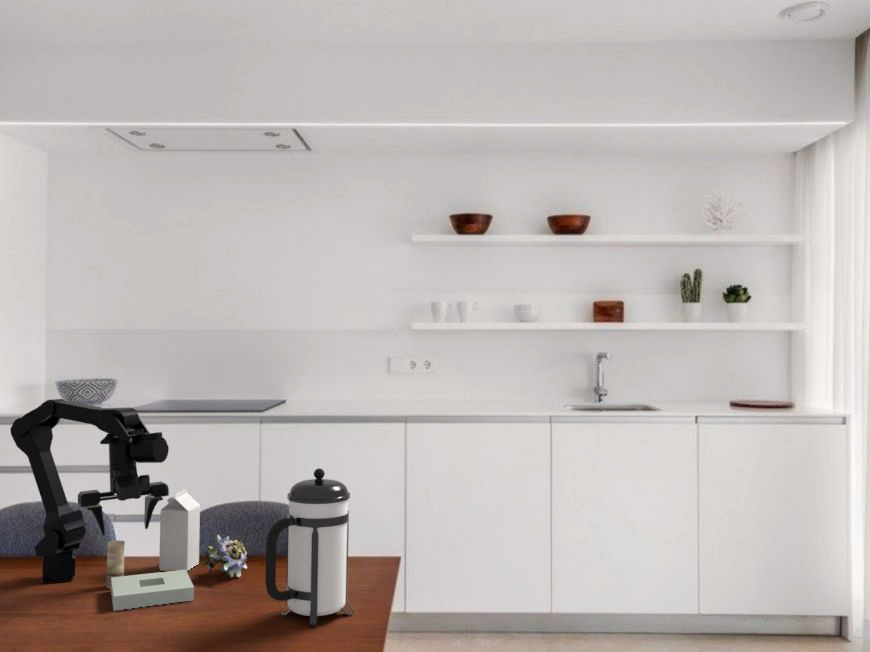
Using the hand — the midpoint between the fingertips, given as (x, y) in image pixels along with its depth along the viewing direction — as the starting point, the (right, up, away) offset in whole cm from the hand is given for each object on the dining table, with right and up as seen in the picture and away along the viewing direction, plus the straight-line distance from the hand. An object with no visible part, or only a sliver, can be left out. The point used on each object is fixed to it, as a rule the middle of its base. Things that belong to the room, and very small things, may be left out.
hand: (125, 532), depth 175 cm
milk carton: (+8, -13, +14) cm, 21 cm away
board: (+8, -12, -7) cm, 16 cm away
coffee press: (+46, -13, -18) cm, 51 cm away
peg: (-2, -12, 0) cm, 13 cm away
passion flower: (+20, -13, +9) cm, 26 cm away
